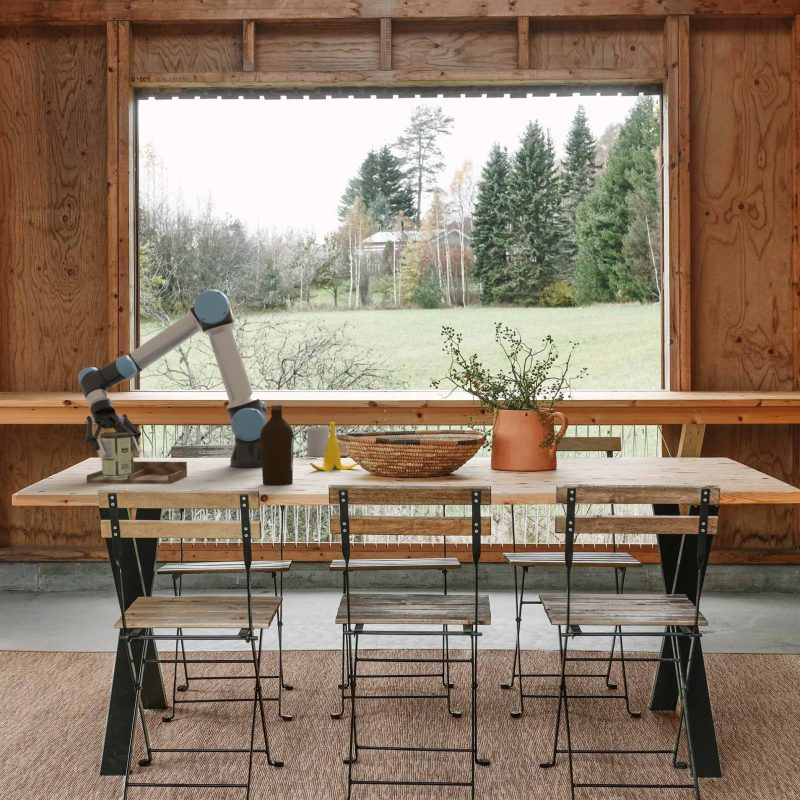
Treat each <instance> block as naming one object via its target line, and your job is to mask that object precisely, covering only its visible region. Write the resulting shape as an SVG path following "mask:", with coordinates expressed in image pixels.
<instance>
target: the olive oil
mask: <svg viewBox="0 0 800 800" xmlns="http://www.w3.org/2000/svg"><path fill="white" fill-rule="evenodd" d="M282 408H283V407H282V404H272V405H271V410H270V414H271V417H270V418H269V419H268V420H267V423H266V424H265V425H264V426H263V428H262V430H261V433H260V443H261V458H262V467H261V474H262V485H264V486H269V487H271V486H272V487H277V486H279V487H281V486H288V485H292V484H293V483H294V482H293V481H294V480H293V479H294V478H293V476H294V474H293V473H294V444H295V443H294V440H295V437H294V436H295V434H294V430H293V428H292V426H291V425H290V424H289V423H288V422H287V421H286V420H285V419H284V418H283V409H282Z"/></svg>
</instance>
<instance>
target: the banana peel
mask: <svg viewBox="0 0 800 800" xmlns="http://www.w3.org/2000/svg"><path fill="white" fill-rule="evenodd" d="M335 425H336V422H334V421H330V422H329V427H330V428H329V430H330V431H329V439H328V443H327V447H326V453H325V457H323V460H322V462H323V463H322V466H318V465H316V464H315V463H313V462H309V465H310V466H311V467H312V468H313V469H315V470H317V471H323V472H330V471H332V470H334V468H337V470H339V471H347V470H350V469H352V468H354V467H356V466H359V464H357V462H355V463H353V464H350V465H344V464H342V461H341V450H340V446H339V442H338V440H337V439H338V438H337V437H336V433H335V427H336V426H335Z"/></svg>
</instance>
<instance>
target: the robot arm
mask: <svg viewBox="0 0 800 800" xmlns="http://www.w3.org/2000/svg"><path fill="white" fill-rule="evenodd" d="M235 325H236V321H235V317H234V314H233V311H232V304H231V301H230V299H229V297H228V296H227V295H226V294H225V293H224V292H223V291H221V290H219V289H215V288H213V289H212V288H210V289H206V290H204V291H202V292H200V293H199V294H198V295H197V297H196V299H195V301H194V304H193V306H192V307H191V308H189V309H188V312H187V314H185V315H184V316H182V317H180V318H178V320H176V321H175V322H173V323H172V324H170V325H169V326H168V327H167V328H165V329H163V330H162V331H161V332H159V333H157V334H156V335H154V336H153V337H152V338H150V339H149V340H148V341H146V342H144V343H143V344H141V345H140V346H138V347H137V348H136V349H134V350H133V351H131V352H130V353H128V354H125V355H123V356H120V357H118V358H116V359H114V360H113V361H112V362H110V363H108V364H106V365H105V366H102V367H100V368H97V367H94V366H89V367H85V368H83V369H81V371H79V373H78V375H77V378H78V383H79V387H80V388H81V390H82V393H83V395H84V398H85V400H86V403H87V405H88V408H89V410H90V413H91V415H92V416H90V415H88V416H86V420H85V422H84V423H85V424H86V431H85V444H89V443H90V445H91V446H93V448H94V450H95V451H96V452H98V455H99V457H100V460H101V461H102V460H103V459H104V457H105V455H106V454H105V451H104V448H103V446H102V443H101V438H99V435H100V434H101V432H102V431H101V430H102V429H104V430H106V429H113V430H115V431H117V432H132V433H133V454H135V457H137V458H139V455H140V453H141V449H140V441H139V439H140V437H141V436H142V433H141V431H140V430H139V429H138V428H137V427H136V425H134V424H133V422H132V421H131V420H130V419H129V418H128V416H127V414H126V413H123V414H122V415H118V414H117V413H116V410H115V406H114V404H113V401H112V398H111V397H110V395H109V392H108V390H109V389H112V388H113V387H114V386H116V385H118V384H120V383H122V382H127V381H131V380H132V379H134V378H135V377H136V376H137V375H138V374H140V373H141V372H142V371H144V370H145V369H147V368H148V367H150V366H151V365H152V364H154V363H156V362H157V361H158V360H160V359H162V357H165V355H168V354H169V353H170V352H171V351H173V350H174V349H176V348H178V347H179V346H180V345H183V344H184V343H185V342H186V341H187V340H189V339H190V338H193V336H195V335H196V334H198V333H199V332H202V333H203V334H205V335H207V336H208V337H209V340H210V342H209V343H210V345H211V347H212V351H213V354H214V358H215V361H216V364H217V366H218V369H219V373H220V376H221V379H222V382H223V386H224V389H225V392H226V395H227V397H228V402H229V403H228V404H227V406H226V409H227V414H228V416H229V420H230V425H231V430H232V433H233V434H234V446H233V450H232V453H231V456H230V460H229V462H230V464H229V465H230V466H231V467H235V468H262V458H261V443H260V433H261V430H262V428H263V426H264V425H265V424H266V423H267V422H268V420H267V419H268V418H267V416H268V413H267V412H268V409H267V403H266V402H264V401H260V398H259V397H258V396H256V395H254V393H253V390H252V386H251V384H250V380H249V376H248V373H247V371H246V368H245V364H244V360H243V358H242V355H241V354H242V353H241V351H240V348H239V345H238V342H237V339H236V335H235V332H234V328H235ZM93 423H94V424H96V425H98V426H97V428H96V430H95V433H94V434H93V436H92V428H93Z"/></svg>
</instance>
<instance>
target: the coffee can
mask: <svg viewBox="0 0 800 800" xmlns="http://www.w3.org/2000/svg"><path fill="white" fill-rule="evenodd" d="M100 441H101V443H102V446H103V448H104V451H105V454H106V455H105V457H104V459H103V460H101V470H102V477H105V478H122V477H127V475H130V474H133V473H134V465H133V461H134V450H133V433H132V432H120V431H117V432H116V431H115V432H103V433H100Z"/></svg>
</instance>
